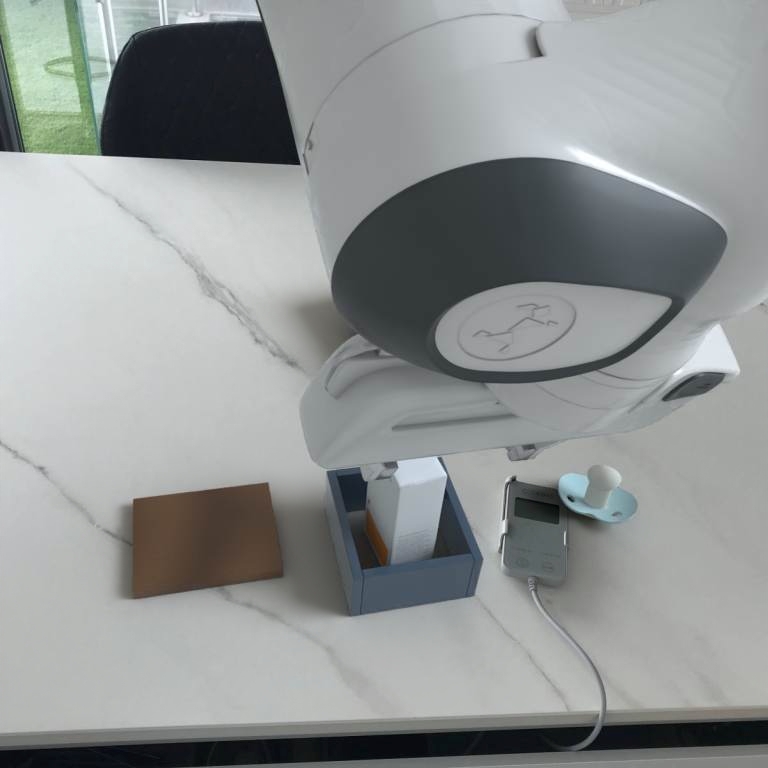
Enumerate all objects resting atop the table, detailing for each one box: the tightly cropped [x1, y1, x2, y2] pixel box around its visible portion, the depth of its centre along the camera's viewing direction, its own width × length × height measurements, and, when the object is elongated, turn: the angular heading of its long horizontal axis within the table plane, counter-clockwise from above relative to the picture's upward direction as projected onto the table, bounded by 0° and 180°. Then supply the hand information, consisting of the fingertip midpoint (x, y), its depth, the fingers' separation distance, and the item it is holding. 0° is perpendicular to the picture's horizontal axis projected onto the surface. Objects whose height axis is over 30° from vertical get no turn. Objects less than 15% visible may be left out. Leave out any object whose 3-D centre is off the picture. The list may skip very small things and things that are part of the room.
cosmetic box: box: [363, 456, 447, 567], centre depth 64 cm, size 6×4×12 cm
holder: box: [324, 456, 484, 617], centre depth 66 cm, size 11×12×5 cm
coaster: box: [132, 482, 285, 600], centre depth 67 cm, size 12×10×1 cm
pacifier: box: [557, 464, 639, 525], centre depth 72 cm, size 7×6×6 cm
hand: (446, 458), depth 45 cm, fingers open, 8 cm apart
